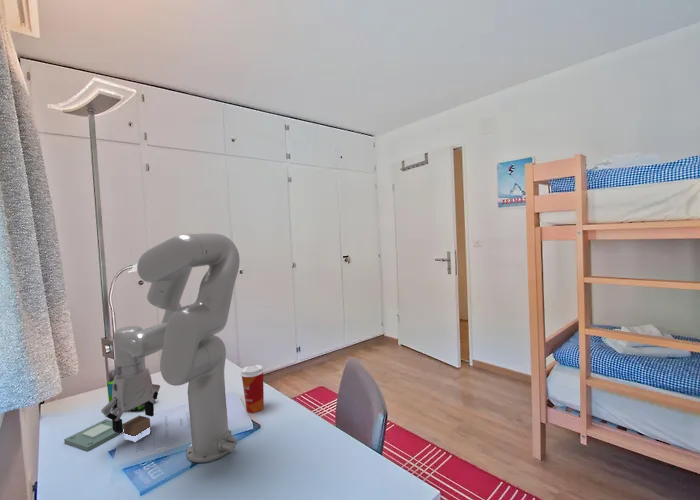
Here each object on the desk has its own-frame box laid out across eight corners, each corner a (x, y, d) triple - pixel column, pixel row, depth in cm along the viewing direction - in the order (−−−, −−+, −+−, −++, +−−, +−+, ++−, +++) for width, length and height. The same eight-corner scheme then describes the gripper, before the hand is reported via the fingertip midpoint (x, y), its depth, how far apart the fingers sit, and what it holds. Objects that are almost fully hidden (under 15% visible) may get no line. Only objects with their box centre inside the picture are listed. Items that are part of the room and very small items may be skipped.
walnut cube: (151, 434, 107) (149, 418, 107) (135, 443, 102) (133, 426, 102) (140, 431, 109) (139, 415, 109) (124, 440, 104) (123, 423, 104)
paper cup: (243, 406, 121) (240, 366, 120) (265, 401, 123) (262, 362, 122) (243, 417, 113) (240, 374, 113) (267, 411, 116) (264, 370, 115)
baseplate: (129, 428, 110) (129, 423, 110) (88, 451, 99) (87, 445, 99) (106, 422, 115) (105, 417, 115) (64, 443, 104) (63, 437, 104)
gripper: (108, 381, 95) (112, 442, 96) (165, 359, 111) (168, 411, 112) (92, 377, 98) (96, 436, 99) (149, 356, 114) (152, 407, 115)
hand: (134, 423), depth 106 cm, fingers open, 9 cm apart
